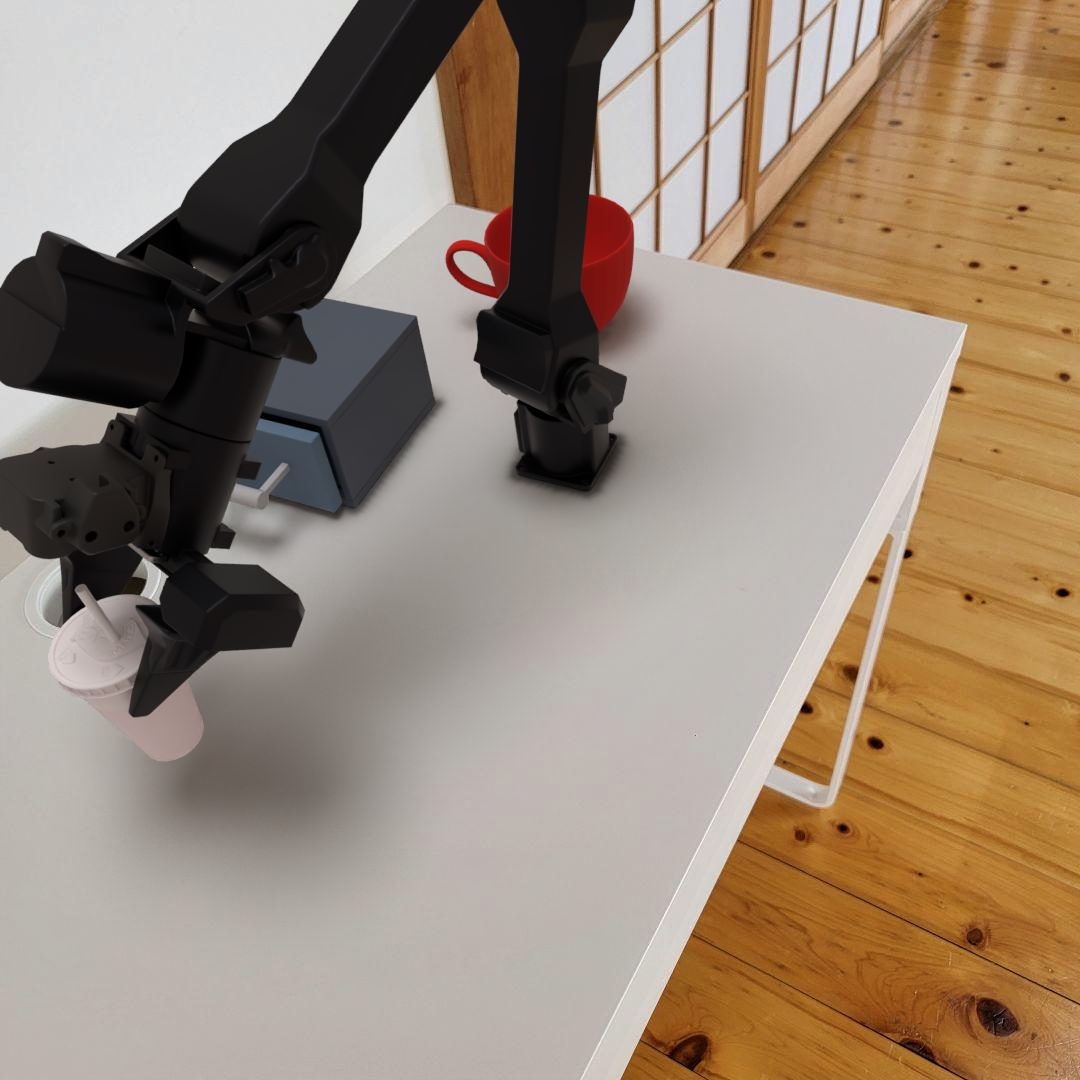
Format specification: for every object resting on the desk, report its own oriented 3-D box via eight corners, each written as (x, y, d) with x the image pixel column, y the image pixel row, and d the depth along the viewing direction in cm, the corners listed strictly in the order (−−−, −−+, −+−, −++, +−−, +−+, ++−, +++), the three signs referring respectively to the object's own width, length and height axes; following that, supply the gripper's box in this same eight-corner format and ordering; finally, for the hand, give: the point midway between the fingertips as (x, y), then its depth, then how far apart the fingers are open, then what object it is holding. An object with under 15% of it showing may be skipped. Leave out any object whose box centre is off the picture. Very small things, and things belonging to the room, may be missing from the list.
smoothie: (199, 788, 58) (96, 645, 47) (101, 774, 59) (-21, 632, 49) (242, 695, 62) (156, 545, 51) (149, 684, 63) (47, 535, 53)
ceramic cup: (470, 287, 99) (454, 193, 92) (641, 287, 96) (639, 190, 89) (444, 368, 90) (424, 272, 83) (631, 370, 87) (627, 271, 80)
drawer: (303, 553, 75) (275, 484, 69) (183, 518, 79) (148, 449, 73) (412, 413, 85) (395, 343, 79) (302, 388, 89) (278, 319, 83)
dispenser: (355, 508, 79) (327, 420, 72) (228, 473, 83) (190, 387, 77) (436, 403, 87) (417, 315, 80) (316, 376, 91) (288, 290, 85)
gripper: (-46, 324, 49) (-129, 604, 52) (166, 478, 40) (50, 807, 43) (149, 368, 59) (69, 603, 62) (357, 500, 49) (251, 769, 52)
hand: (104, 683), depth 54 cm, fingers closed on smoothie, 6 cm apart
